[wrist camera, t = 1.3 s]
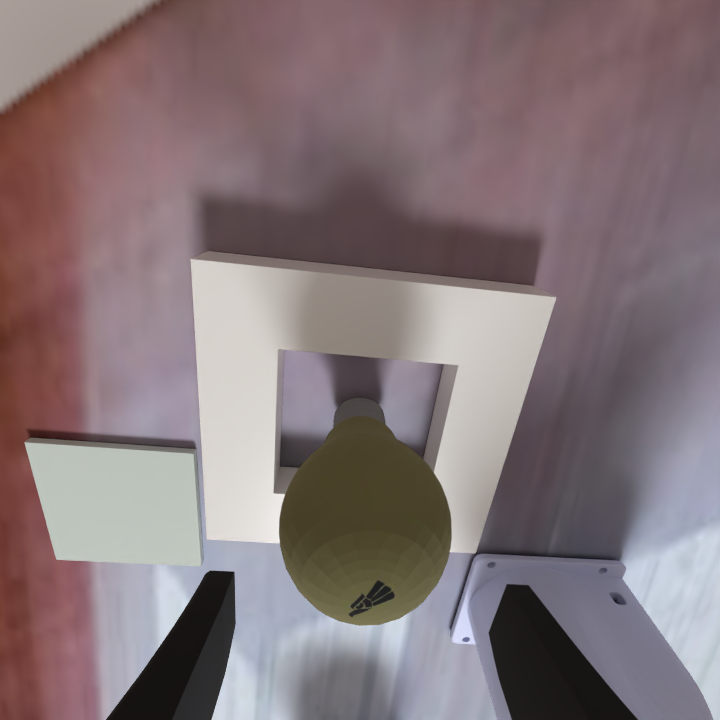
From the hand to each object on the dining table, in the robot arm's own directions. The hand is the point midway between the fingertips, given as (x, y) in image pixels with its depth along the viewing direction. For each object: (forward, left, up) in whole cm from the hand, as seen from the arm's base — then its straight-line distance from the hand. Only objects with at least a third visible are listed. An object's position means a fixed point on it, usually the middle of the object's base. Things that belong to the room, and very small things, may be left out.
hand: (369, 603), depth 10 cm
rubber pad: (+12, +7, -10) cm, 17 cm away
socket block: (0, 0, -10) cm, 10 cm away
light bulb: (0, 0, -10) cm, 10 cm away
